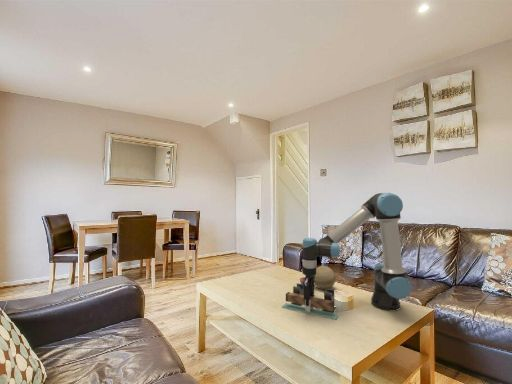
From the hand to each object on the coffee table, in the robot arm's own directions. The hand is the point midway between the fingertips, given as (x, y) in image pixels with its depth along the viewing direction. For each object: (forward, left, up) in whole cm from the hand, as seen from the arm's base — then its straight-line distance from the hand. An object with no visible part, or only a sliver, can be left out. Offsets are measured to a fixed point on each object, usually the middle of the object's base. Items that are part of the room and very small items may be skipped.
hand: (309, 309), depth 144 cm
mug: (+7, -21, -1) cm, 22 cm away
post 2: (-9, -8, -1) cm, 12 cm away
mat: (0, 0, -1) cm, 1 cm away
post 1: (+9, -8, -1) cm, 12 cm away
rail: (0, 0, +3) cm, 3 cm away
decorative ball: (+2, -39, -1) cm, 39 cm away
